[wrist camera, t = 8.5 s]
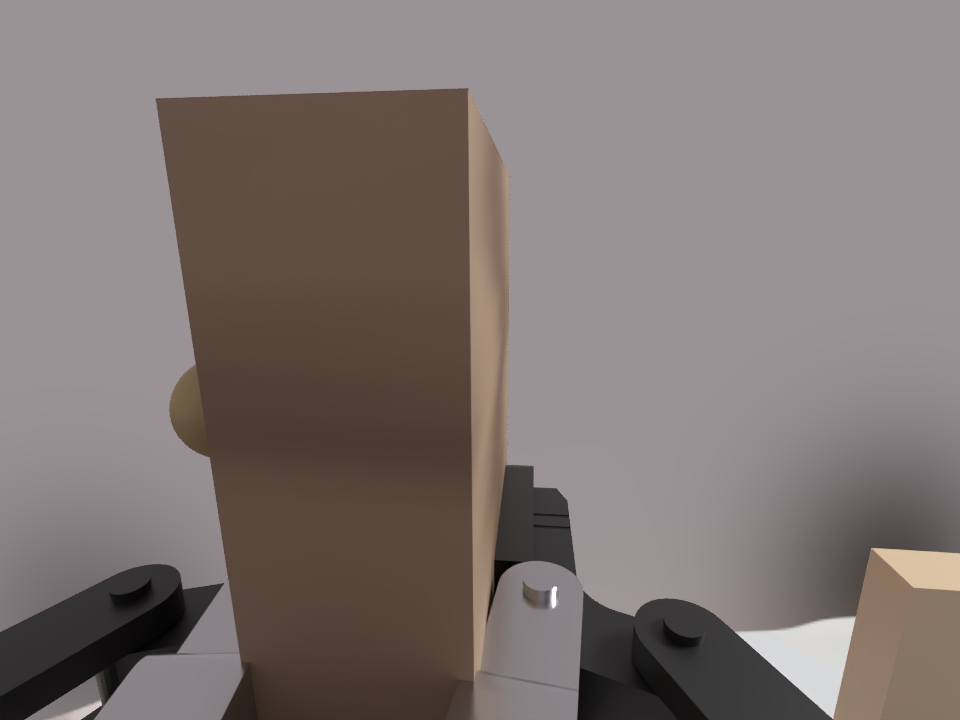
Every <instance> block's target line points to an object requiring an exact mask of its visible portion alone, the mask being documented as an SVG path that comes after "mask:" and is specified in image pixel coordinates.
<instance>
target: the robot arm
mask: <svg viewBox="0 0 960 720" xmlns="http://www.w3.org/2000/svg"><path fill="white" fill-rule="evenodd" d="M93 676H95V677H96V681H97V686H98V689H99V694H100V698H101V702H102V706H101V707H99V708H98V709H96V710H95V711H93V712H92V713H90V714H89V715H87V716H86V717H84V718H83V719H81V720H258V716H257V709H256V702H255V695H254V689H253V682H252V675H251V668H250V663H249V662H241V660H240V653H239V646H238V640H237V633H236V627H235V620H234V613H233V607H232V600H231V593H230V587H229V580H228V579H227V580H226V582H225V583H222V584H217V585H210V586H204V587H197V588H191V589H184V590H183V588H182V582H181V577H180V573H179V571H178V570H177V569H175V568H174V567H172V566H168V565H162V564H152V565H145V566H140V567H136V568H132V569H129V570H126V571H123V572H121V573H118V574H116V575H114V576H112V577H110V578H108V579H106V580H104V581H102V582H100V583H98V584H96V585H94V586H92V587H90V588H88V589H86V590H84V591H82V592H80V593H78V594H76V595H74V596H72V597H70V598H68V599H66V600H64V601H62V602H60V603H58V604H56V605H54V606H52V607H50V608H48V609H46V610H44V611H42V612H40V613H38V614H36V615H34V616H32V617H30V618H28V619H26V620H24V621H22V622H20V623H18V624H16V625H14V626H12V627H10V628H8V629H6V630H4V631H2V632H0V720H24V719H26V718H28V717H29V716H31V715H32V714H34V713H36V712H37V711H39V710H40V709H42V708H44V707H45V706H47V705H48V704H50V703H52V702H53V701H55V700H56V699H58V698H59V697H61V696H63V695H64V694H66V693H68V692H69V691H71V690H72V689H74V688H76V687H77V686H79V685H80V684H82V683H84V682H85V681H87V680H88V679H90V678H91V677H93ZM446 720H833V719H832V718H831V717H830V716H828V715H827V714H826V713H825V712H824V711H823V710H822V709H821V708H819V707H818V706H817V705H816V704H815V703H814V702H813V701H812V700H810V699H809V698H808V697H807V696H806V695H805V694H804V693H803V692H801V691H800V690H799V689H798V688H797V687H796V686H795V685H794V684H792V683H791V682H790V681H789V680H788V679H787V678H786V677H785V676H783V675H782V674H781V673H780V672H779V671H778V670H777V669H776V668H775V667H773V666H772V665H771V664H770V663H769V662H768V661H767V660H766V659H764V658H763V657H762V656H761V655H760V654H759V653H758V652H757V651H755V650H754V649H753V648H752V647H751V646H750V645H749V644H748V643H746V642H745V641H744V640H743V639H742V638H741V637H740V636H739V635H737V634H736V633H735V632H734V631H733V630H732V629H731V628H730V627H728V626H727V625H726V624H725V623H724V622H723V621H722V620H721V619H719V618H718V617H717V616H716V615H714V614H713V613H711V612H710V611H708V610H706V609H705V608H702V607H700V606H698V605H696V604H693V603H691V602H687V601H683V600H678V599H657V600H653V601H650V602H648V603H646V604H644V605H643V606H641V607H640V609H639V610H638V611H637V613H636V615H635V617H633V616H630V615H627V614H624V613H621V612H617V611H615V610H612V609H609V608H607V607H605V606H603V605H601V604H599V603H598V602H596V601H594V600H593V599H592V598H591V597H589V596H588V595H587V594H586V593H585V592H584V591H583V588H582V585H581V583H580V581H579V579H578V578H577V577H576V569H575V561H574V552H573V545H572V536H571V530H570V520H569V511H568V503H567V500H566V499H565V498H564V497H563V495H562V494H561V493H560V492H559V491H558V490H557V489H556V488H534V487H533V466H519V465H505V473H504V481H503V490H502V498H501V507H500V515H499V524H498V532H497V541H496V549H495V558H494V600H493V604H492V607H491V610H490V614H489V617H488V621H487V624H486V628H485V636H484V644H483V652H482V661H481V669H480V670H477V671H476V674H475V679H474V681H465V680H458V683H457V685H456V689H455V692H454V695H453V698H452V701H451V704H450V708H449V711H448V714H447V717H446Z"/></svg>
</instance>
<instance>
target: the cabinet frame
mask: <svg viewBox="0 0 960 720" xmlns="http://www.w3.org/2000/svg"><path fill="white" fill-rule="evenodd" d="M833 720H960V553H959V554H958V553H942V552H927V551H910V550H895V549H894V550H893V549H878V548H871V552H870V557H869V561H868V566H867V570H866V575H865V579H864V584H863V588H862V593H861V597H860V602H859V606H858V611H857V615H856V619H855V624H854V628H853V633H852V637H851V642H850V646H849V651H848V655H847V660H846V664H845V669H844V673H843V678H842V682H841V687H840V691H839V696H838V700H837V705H836V709H835V714H834V718H833Z"/></svg>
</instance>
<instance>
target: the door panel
mask: <svg viewBox="0 0 960 720" xmlns="http://www.w3.org/2000/svg"><path fill="white" fill-rule="evenodd" d="M156 103H157V110H158V117H159V123H160V130H161V136H162V143H163V149H164V156H165V163H166V169H167V176H168V182H169V189H170V196H171V203H172V209H173V216H174V222H175V229H176V236H177V242H178V249H179V256H180V262H181V269H182V275H183V282H184V289H185V295H186V302H187V309H188V315H189V321H190V328H191V335H192V342H193V348H194V355H195V361H196V365H194V366H193V367H191V368H190V369H189V370H188V371H187V372H186V373H185V374H183V376H182V377H181V378H180V379H179V381H178V383H177V384H176V386H175V388H174V390H173V393H172V396H171V400H170V409H169V410H170V418H171V422H172V425H173V428H174V430H175V432H176V433H177V435H178V437H179V438H180V439H181V440H182V441H183V442H184V443H185V444H186V445H187V446H188V447H189V448H191V449H192V450H194V451H196V452H197V453H199V454H202V455H204V456H207V457H210V461H211V468H212V474H213V481H214V487H215V494H216V501H217V507H218V514H219V520H220V526H221V534H222V540H223V547H224V554H225V560H226V567H227V573H228V580H229V587H230V593H231V600H232V607H233V613H234V620H235V627H236V633H237V640H238V646H239V653H240V660H241V662H249V663H250V668H251V675H252V682H253V689H254V695H255V702H256V709H257V716H258V720H446V717H447V714H448V711H449V708H450V704H451V701H452V698H453V695H454V692H455V689H456V685H457V683H458V680H465V681H474V679H475V674H476V671H477V670H480V669H481V661H482V652H483V644H484V636H485V628H486V624H487V621H488V617H489V614H490V610H491V607H492V604H493V600H494V558H495V549H496V541H497V532H498V524H499V515H500V507H501V498H502V490H503V481H504V473H505V465H507V446H508V441H507V439H508V334H509V221H510V220H509V219H510V213H509V212H510V176H509V174H508V172H507V169H506V167H505V165H504V163H503V161H502V159H501V157H500V155H499V153H498V150H497V149H496V146H495V144H494V142H493V140H492V138H491V136H490V134H489V132H488V129H487V127H486V125H485V123H484V121H483V119H482V117H481V115H480V113H479V111H478V108H477V106H476V104H475V102H474V100H473V98H472V96H471V94H470V92H469V90H468V88H466V89H435V90H405V91H373V92H344V93H343V92H342V93H313V94H282V95H250V96H221V97H220V96H219V97H190V98H161V99H160V98H158V99H156Z"/></svg>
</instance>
